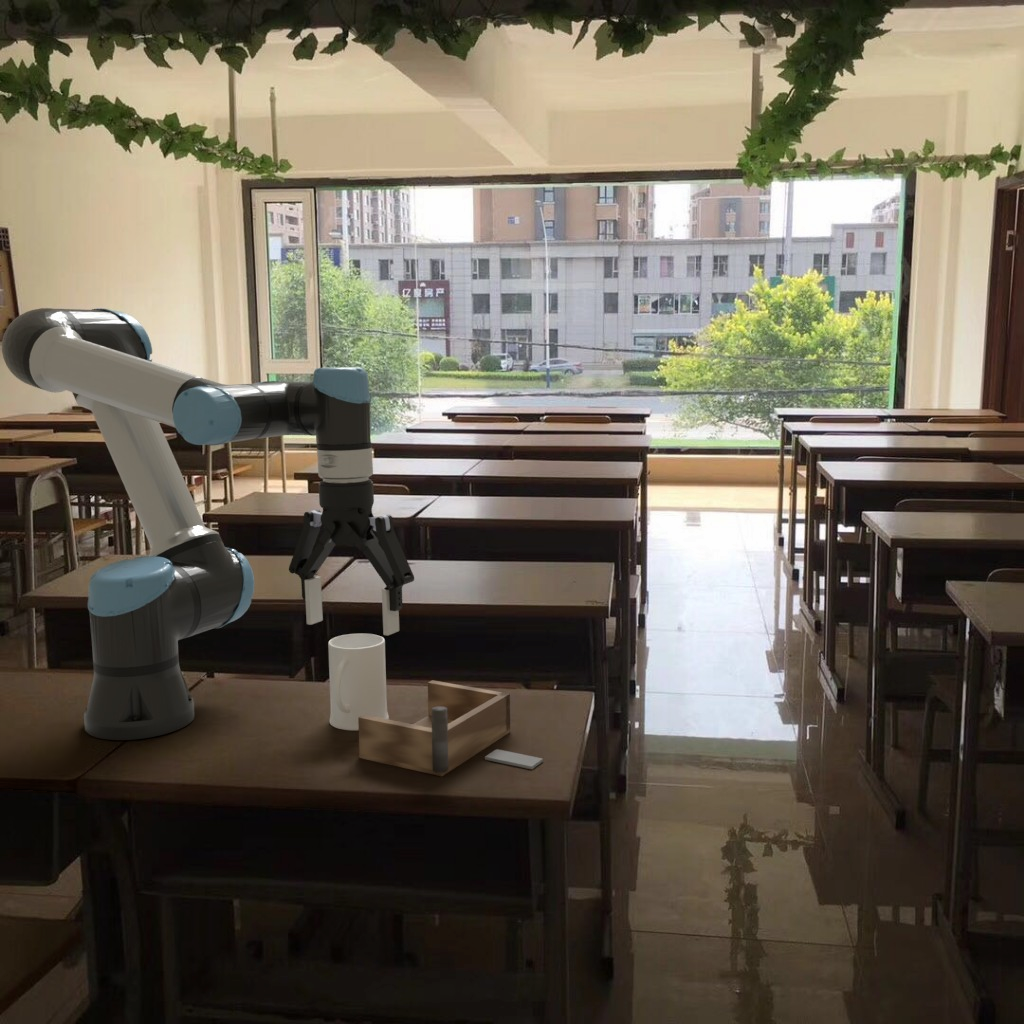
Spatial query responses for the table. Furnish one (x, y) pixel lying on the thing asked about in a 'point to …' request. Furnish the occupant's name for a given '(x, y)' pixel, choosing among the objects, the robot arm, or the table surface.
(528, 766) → the grey rectangular slab
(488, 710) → the keeper cradle
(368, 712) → the mug
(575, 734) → the table surface
